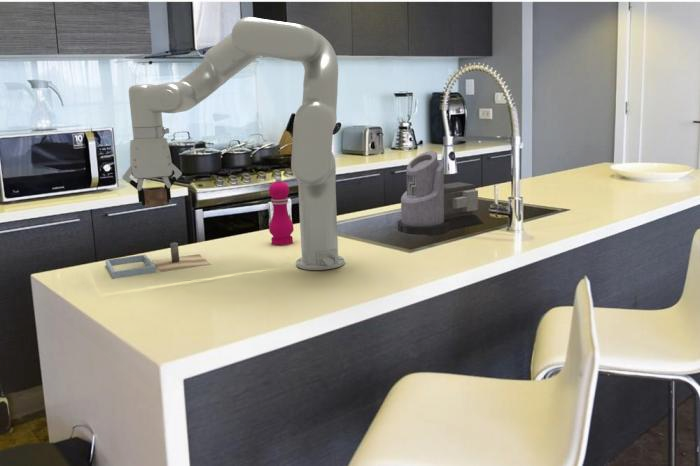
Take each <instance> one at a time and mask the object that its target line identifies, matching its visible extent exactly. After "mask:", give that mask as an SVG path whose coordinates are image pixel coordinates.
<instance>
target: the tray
mask: <svg viewBox="0 0 700 466" xmlns="http://www.w3.org/2000/svg"><path fill="white" fill-rule="evenodd" d="M141 262H144V263H145V265H146V266H143V267H142V266H141V267H135V268H127V269H121V270H120V269H119V270H115V268H114V267H113V266H118V265H127V264H133V263H141ZM105 266H106V268H107V271H108V272H109V273H110V276H111V278H112V279H114V280H115V279H121V278H127V277H132V276H141V275H147V274H154V273H156V272H157V271H156V265H155V264H154V263H153V262H152V261H151V259H150V258H149V257H148V256H147V255H146V254H139V255H138V254H137V255H132V256H125V257H119V258H109V259H105Z"/></svg>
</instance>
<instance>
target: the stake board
mask: <svg viewBox="0 0 700 466" xmlns="http://www.w3.org/2000/svg"><path fill="white" fill-rule="evenodd" d="M169 245H170V246H169V247H170V255H171V256H170V257H168V258H162V259H155V260H154V259H153V260H152V261H151V262H152V263H153V264H154V265H155V267H157V269H158V271H160V272H161V273H163V272H169V271H177V270H183V269H190V268H197V267H203V266H204V267H205V266H210V265H212V264H211V263H210V261H208V260H207V259H205V258H204V257H203V256H202V255H201V254H199V253H198V254H191V255H182V256H180V251H179V250H180V249H179V243H178V242H170V243H169Z"/></svg>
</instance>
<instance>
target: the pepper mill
mask: <svg viewBox="0 0 700 466" xmlns="http://www.w3.org/2000/svg"><path fill="white" fill-rule="evenodd" d="M274 180H275V181H274V182H272V183H271V184H270V185H269V187H268V194H269V195H270V197H271V199H270V200H271V202H270V203H271V204H272V209H273V211H272V212H273V213H272V217H271V220H270V223H269V226H268V227H269V228H268V231H269V233H270V234H271V236H272V237H271V244H272V245H273V246H288V244H289V245H292V244H293V240H294V239H293V236H292V234H293V232H294V230H295V229H294V224H293V221H292V218H291V217H290V215H289V212H288V203H289V198H288V196H289V195H290V188H289V185H288V184H287V183H286V182H284V181H282V178H281V176H276V177H275V179H274Z"/></svg>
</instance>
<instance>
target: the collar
mask: <svg viewBox="0 0 700 466" xmlns="http://www.w3.org/2000/svg"><path fill="white" fill-rule="evenodd" d="M142 188H143V190H144V198H145V206H144V207H146V208H154V207H155V208H156V207H159V206H160V207H162V206H163V207H164V206H168V204H169V203H167V192H166V189H165V188H164V185H163V186H162V185H161V186H153V187H152V186H151V187H142Z"/></svg>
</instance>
